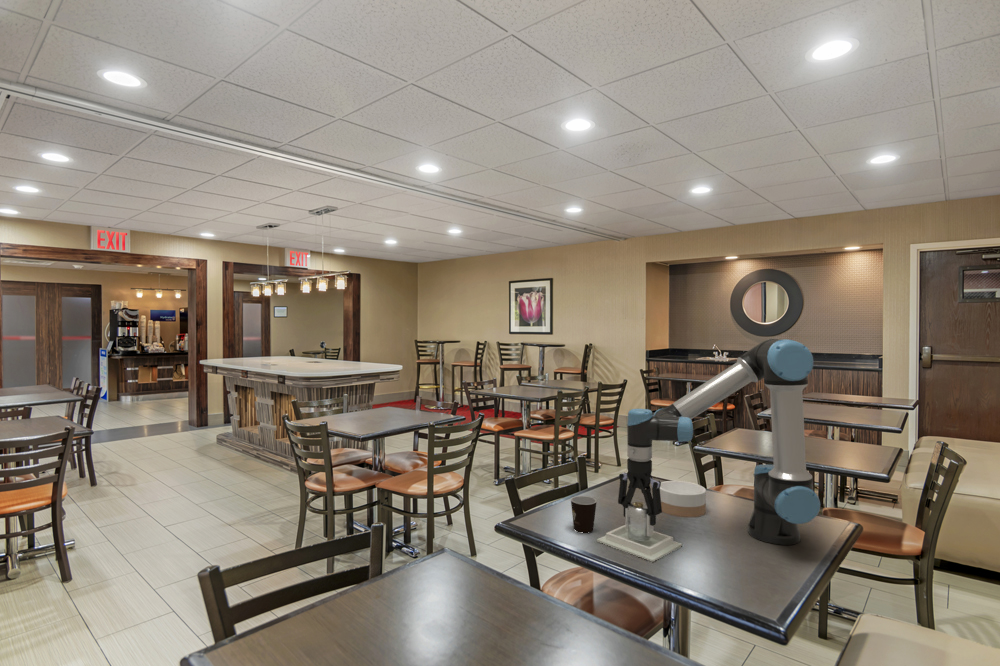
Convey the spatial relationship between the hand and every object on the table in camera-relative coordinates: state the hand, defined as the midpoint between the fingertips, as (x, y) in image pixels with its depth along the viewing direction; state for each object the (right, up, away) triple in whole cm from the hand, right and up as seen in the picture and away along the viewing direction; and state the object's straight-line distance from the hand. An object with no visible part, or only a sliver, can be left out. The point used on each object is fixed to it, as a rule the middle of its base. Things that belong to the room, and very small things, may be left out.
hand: (639, 531), depth 163 cm
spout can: (0, -2, 0) cm, 2 cm away
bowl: (+24, -4, +32) cm, 40 cm away
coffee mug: (-15, -4, +13) cm, 21 cm away
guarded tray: (0, -4, 0) cm, 4 cm away
